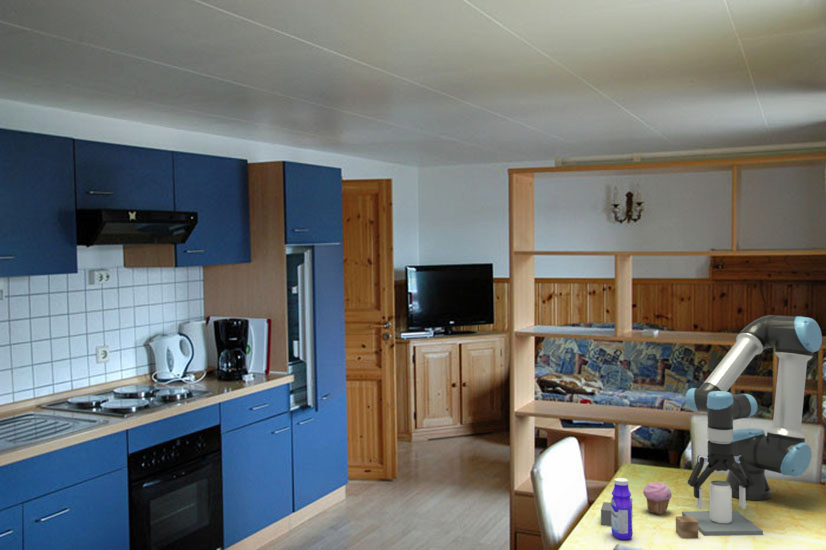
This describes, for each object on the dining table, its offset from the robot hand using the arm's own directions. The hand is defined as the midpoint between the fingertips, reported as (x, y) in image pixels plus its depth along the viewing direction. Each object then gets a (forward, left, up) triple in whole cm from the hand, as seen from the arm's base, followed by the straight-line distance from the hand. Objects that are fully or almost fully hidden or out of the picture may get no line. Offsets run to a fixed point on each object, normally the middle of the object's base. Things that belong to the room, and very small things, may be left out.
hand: (720, 507), depth 229 cm
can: (0, 0, -4) cm, 4 cm away
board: (0, 0, -5) cm, 5 cm away
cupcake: (+16, -12, -6) cm, 21 cm away
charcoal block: (+35, -4, -6) cm, 35 cm away
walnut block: (+14, +9, -5) cm, 17 cm away
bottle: (+34, +9, -6) cm, 36 cm away
